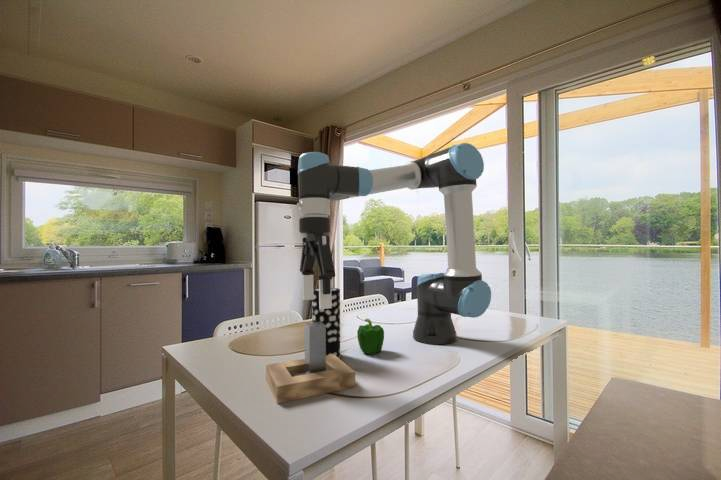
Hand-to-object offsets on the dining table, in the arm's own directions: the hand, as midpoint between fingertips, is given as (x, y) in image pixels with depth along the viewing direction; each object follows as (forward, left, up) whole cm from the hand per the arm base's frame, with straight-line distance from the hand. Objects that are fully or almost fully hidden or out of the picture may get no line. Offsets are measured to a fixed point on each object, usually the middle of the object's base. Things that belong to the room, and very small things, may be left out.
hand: (316, 303), depth 79 cm
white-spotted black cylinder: (-8, -16, -19) cm, 26 cm away
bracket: (+2, 0, -19) cm, 19 cm away
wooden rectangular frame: (+2, 0, -19) cm, 19 cm away
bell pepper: (-22, -14, -19) cm, 32 cm away
